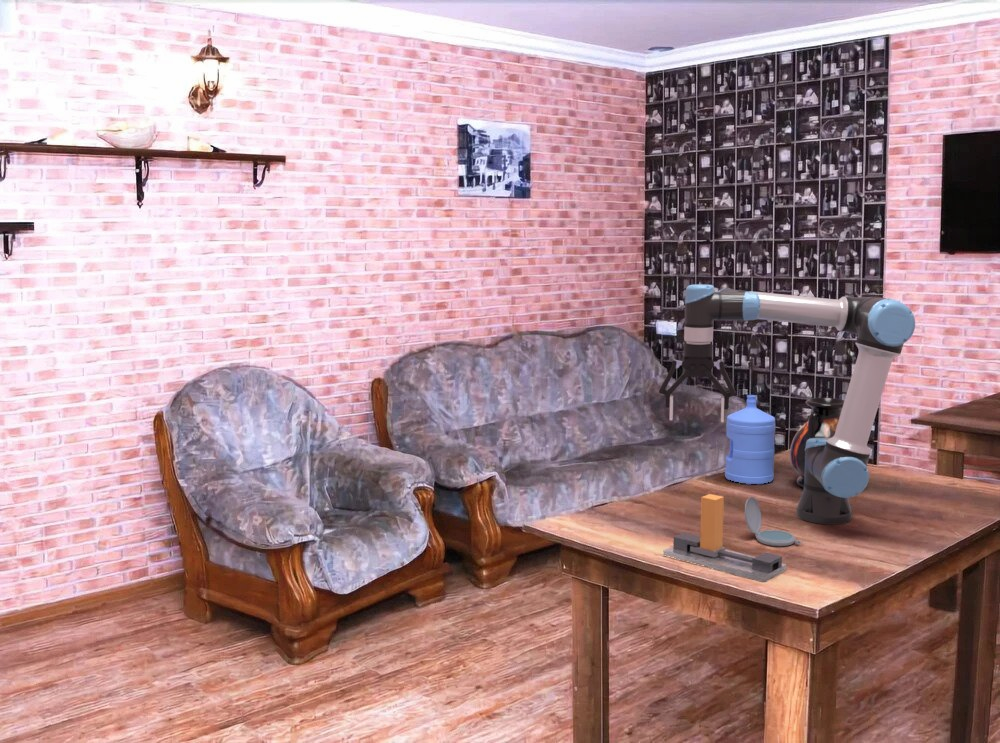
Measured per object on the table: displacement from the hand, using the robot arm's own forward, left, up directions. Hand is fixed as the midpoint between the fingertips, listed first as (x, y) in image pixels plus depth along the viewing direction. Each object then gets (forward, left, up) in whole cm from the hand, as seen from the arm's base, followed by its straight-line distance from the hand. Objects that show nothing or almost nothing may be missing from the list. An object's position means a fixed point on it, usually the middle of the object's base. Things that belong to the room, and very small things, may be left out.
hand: (696, 420), depth 268 cm
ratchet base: (-8, +26, -31) cm, 41 cm away
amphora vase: (-39, -55, -31) cm, 74 cm away
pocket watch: (-21, +5, -31) cm, 38 cm away
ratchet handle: (-9, +27, -29) cm, 41 cm away
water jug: (-16, -60, -31) cm, 69 cm away
